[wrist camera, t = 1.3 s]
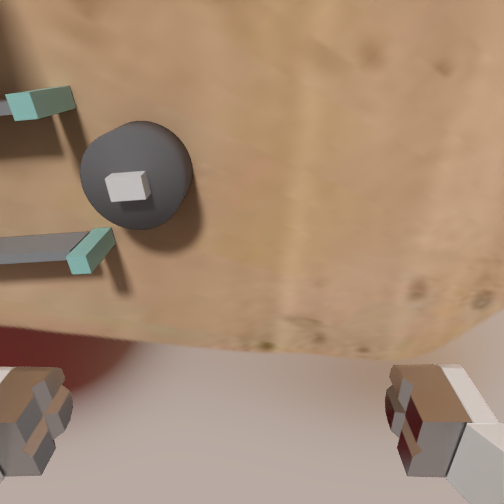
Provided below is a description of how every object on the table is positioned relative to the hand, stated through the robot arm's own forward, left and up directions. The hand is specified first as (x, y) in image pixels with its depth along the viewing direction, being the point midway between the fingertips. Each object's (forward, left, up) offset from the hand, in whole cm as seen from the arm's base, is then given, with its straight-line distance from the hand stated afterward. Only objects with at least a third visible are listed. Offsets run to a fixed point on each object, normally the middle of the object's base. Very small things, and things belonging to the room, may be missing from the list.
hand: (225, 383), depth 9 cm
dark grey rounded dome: (+8, 0, -22) cm, 23 cm away
